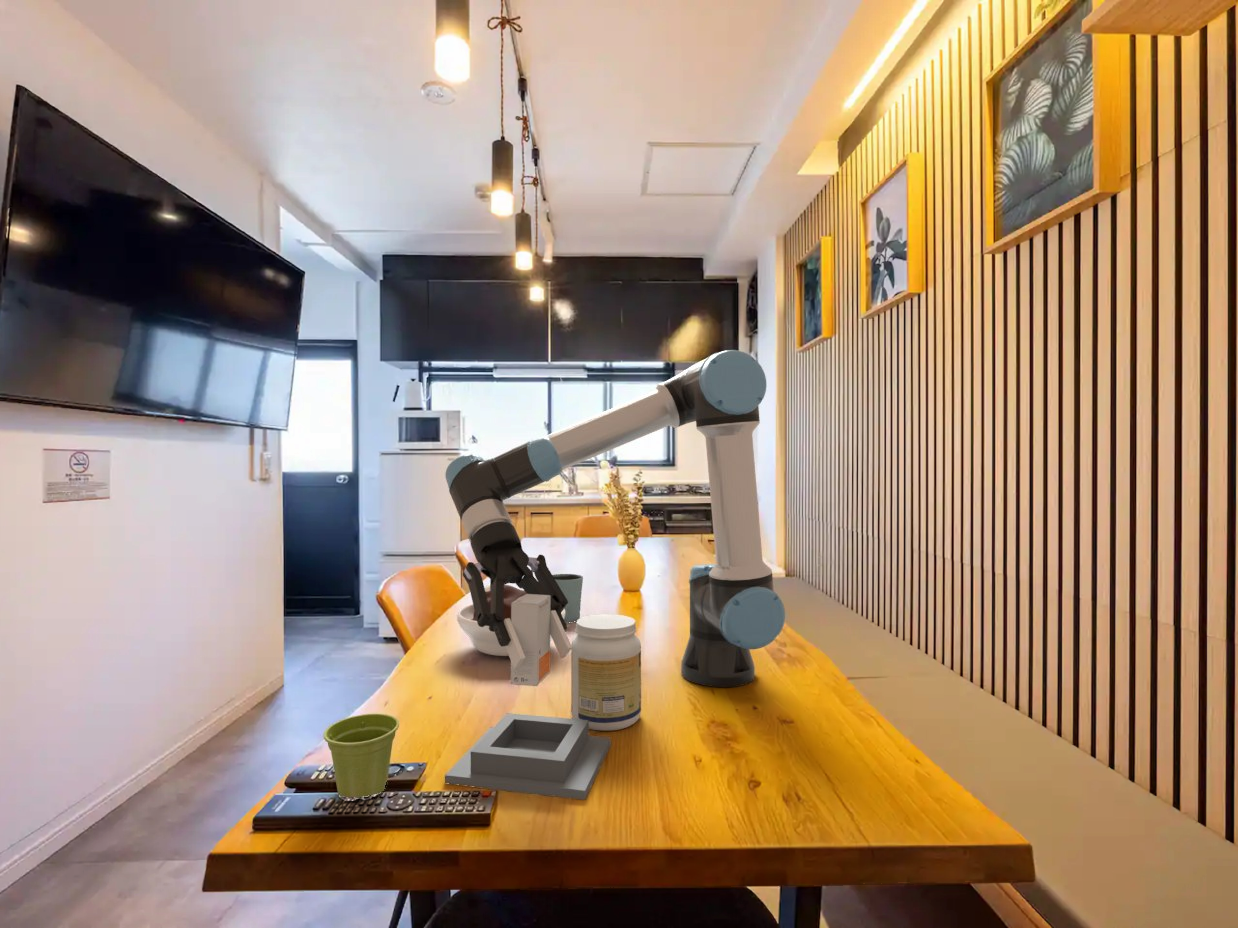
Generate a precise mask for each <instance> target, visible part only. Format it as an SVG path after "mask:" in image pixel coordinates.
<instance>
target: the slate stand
mask: <svg viewBox="0 0 1238 928" xmlns="http://www.w3.org/2000/svg"><path fill="white" fill-rule="evenodd" d="M589 731H590V729H589V720H581V719H574V718H568V717H557V716H556V717H555V716H545V715H532V714H523V713H522V714H520V713H512V712H511V713H508V712H506V713H505V715H503V717H502V718H501V719H500V720H499V721H498V722H496V724H495V725H494V726H490V727H489V728H488V729H487V730H486V731H485V732H484V733H483V734H482V735H481V737H480V738H479V739H478V740H477V741H476V742H475V743H474V744H473V745H471V747H470V748H469V749H468V750H467V751H466V752H465V753H464V754H463V755H462V756H461V757H460V759H458V761H456V763H455V764H454V765H453V766H452V767H451V768H449V770H448V771H447V772H446V773H445V774H444V784H445V783H449V784H448V785H451V784H459V785H458V786H460V785H467V786H466V787H469V786H474V787H473V788H477V787H482V788H481V789H486V788H488V789H487V790H495V789H498V790H497V791H506V792H515V793H523V794H531V795H541V796H547V797H548V796H549V797H559V798H567V799H576V800H582V801H584V800H586V798H587V797H588V794H589V792H590V791H591V788H592V786H593V783H594V782H595V780H596V778H597V775H598V774H599V771H600V769H601V767H602V764H603V762H604V761H605V759H606V757H607V755H608V753H609V750H610V748H611V745H612V744H611V742H612V740H611V739H612V737H607V736H606V737H605V736H597V735H595V736H594V735H589V733H590V732H589Z"/></svg>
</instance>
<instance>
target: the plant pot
mask: <svg viewBox="0 0 1238 928" xmlns="http://www.w3.org/2000/svg"><path fill="white" fill-rule="evenodd" d="M399 727H400V720H399V719H398V718H397V717H395V716H394V715H390V714H388V713H364V714H360V715H353V716H348V717H346V718H343V719H341V720H338V721H336V722H334V723H332V724H331V725H330V726H328V727H327V728H326V729H325V730H324V732H323V739H324V741H326V742H327V745H328V749H329V750H330V751H331V752H330V753H331V758H332V764H333V770H334V772H333V773H334V776H335V783H336V789H337V796H338V795H340V796H346V797H362V796H368V795H373V794H377V793H380V792H382V791H385V790H386V788H385V785H386V782H387V779H388V780H389V772H390V762H391V758H392V757H391V756H392V750H393V749H392V748H393V743H394V739H395V737H396V731H398V729H399ZM387 783H388V782H387ZM384 789H385V790H384ZM382 793H383V792H382Z"/></svg>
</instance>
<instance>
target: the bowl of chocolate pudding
mask: <svg viewBox="0 0 1238 928" xmlns="http://www.w3.org/2000/svg"><path fill="white" fill-rule="evenodd" d="M525 594H527V593H526V592H525V591H524V589H520V588H517V587H515V586H512V585H510V584H505V585H504V617H503V621H504V620H505V619H507V618H510V620H511V603H512V602H514V601H515V600H517V599H518V598H519V597H522V596H524V595H525ZM486 596H487V601H488V605H489V609H490V613H491V591H487V592H486ZM565 613H566V611H565V609H564V610H563V611H562V612H561V614H562V617H563V619H564V618H565ZM456 621H457V624H459V627H460V628H461V630H462V631H463V632H464V633H465V635H467V636H468V637H469V639H470V642H471V644H472V646H473V648H474V649H476V650H477V651H479V652H480V653H482V654H485V655H489V656H496V657H509V654H508V652H507V649H506V647H505V646H503V647H501V646H500V644H499V642H498V640H497V637H496V634H495V632H492V631H490V630H489V626H484V627H480V626H479V625H478V623H477V619H476V615H475V610H474V606H473V603H471V604H469V605H466V606H463V608H461V609H460V610H459V611H458V613H457V615H456ZM552 640H553V639H552V637H551V634H550V642H551V641H552Z"/></svg>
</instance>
